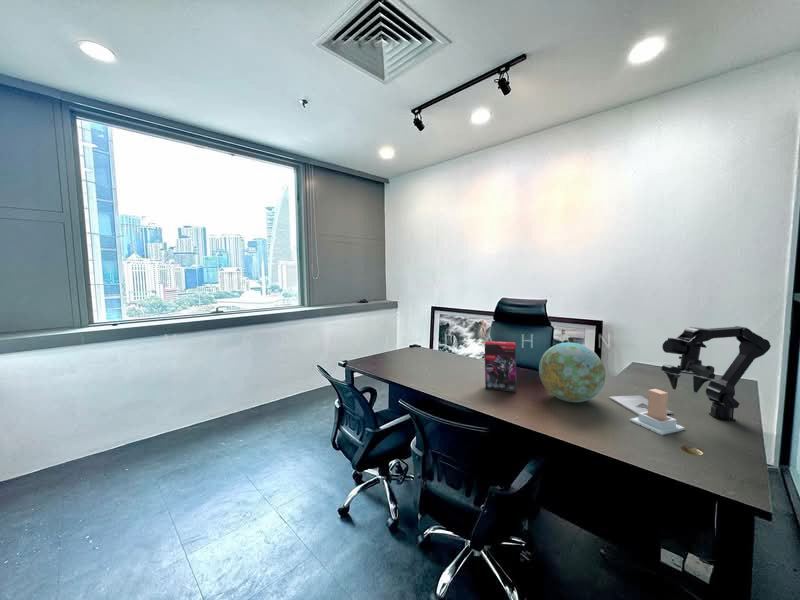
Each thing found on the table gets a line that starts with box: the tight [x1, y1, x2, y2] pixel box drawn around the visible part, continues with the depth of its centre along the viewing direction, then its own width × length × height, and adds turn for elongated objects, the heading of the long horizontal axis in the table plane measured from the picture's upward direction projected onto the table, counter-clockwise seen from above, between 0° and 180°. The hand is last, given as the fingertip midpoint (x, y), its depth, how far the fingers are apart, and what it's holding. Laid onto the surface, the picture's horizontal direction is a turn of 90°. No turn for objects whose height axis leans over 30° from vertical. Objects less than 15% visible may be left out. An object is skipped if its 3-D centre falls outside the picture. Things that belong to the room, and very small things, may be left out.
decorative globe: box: [538, 341, 606, 403], centre depth 165 cm, size 30×30×30 cm
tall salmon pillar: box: [647, 388, 669, 421], centre depth 137 cm, size 4×5×14 cm
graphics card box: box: [484, 340, 517, 392], centre depth 183 cm, size 17×7×27 cm, turn 72°
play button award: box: [608, 394, 674, 416], centre depth 157 cm, size 16×2×20 cm
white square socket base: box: [629, 411, 686, 436], centre depth 137 cm, size 13×13×4 cm
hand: (684, 390), depth 141 cm, fingers open, 9 cm apart
